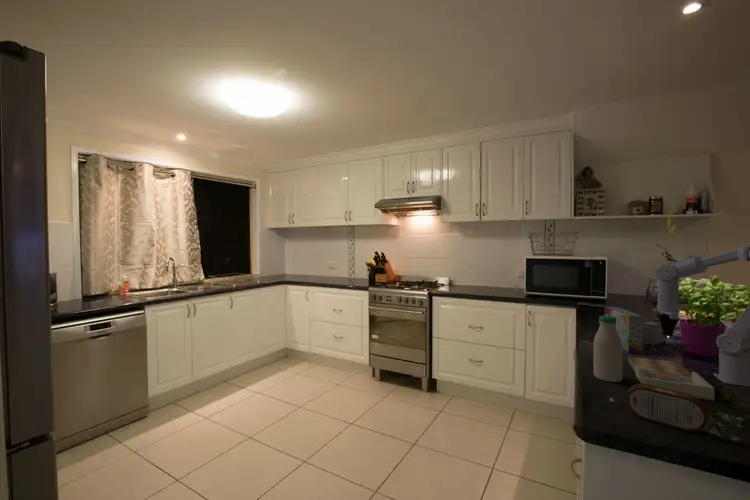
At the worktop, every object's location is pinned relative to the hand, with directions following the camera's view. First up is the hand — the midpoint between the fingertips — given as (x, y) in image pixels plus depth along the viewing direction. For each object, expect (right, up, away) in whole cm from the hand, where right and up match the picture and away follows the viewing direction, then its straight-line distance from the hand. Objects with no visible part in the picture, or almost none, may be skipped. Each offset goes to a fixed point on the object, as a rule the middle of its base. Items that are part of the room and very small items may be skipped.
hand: (667, 335), depth 120 cm
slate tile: (-17, -10, -21) cm, 29 cm away
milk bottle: (-30, -11, -11) cm, 34 cm away
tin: (-35, -12, -39) cm, 54 cm away
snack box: (0, -10, +22) cm, 25 cm away
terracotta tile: (-14, -10, -16) cm, 24 cm away
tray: (-15, -11, -19) cm, 26 cm away
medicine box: (+16, -10, +26) cm, 32 cm away
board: (-9, -11, -6) cm, 15 cm away
